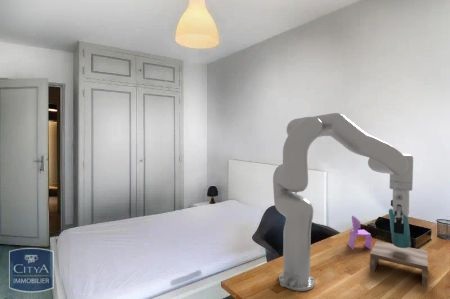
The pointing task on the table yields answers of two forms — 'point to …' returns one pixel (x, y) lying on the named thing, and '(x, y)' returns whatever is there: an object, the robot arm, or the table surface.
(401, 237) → the beverage bottle
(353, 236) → the toy chair
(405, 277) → the table surface
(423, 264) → the walnut shelf
